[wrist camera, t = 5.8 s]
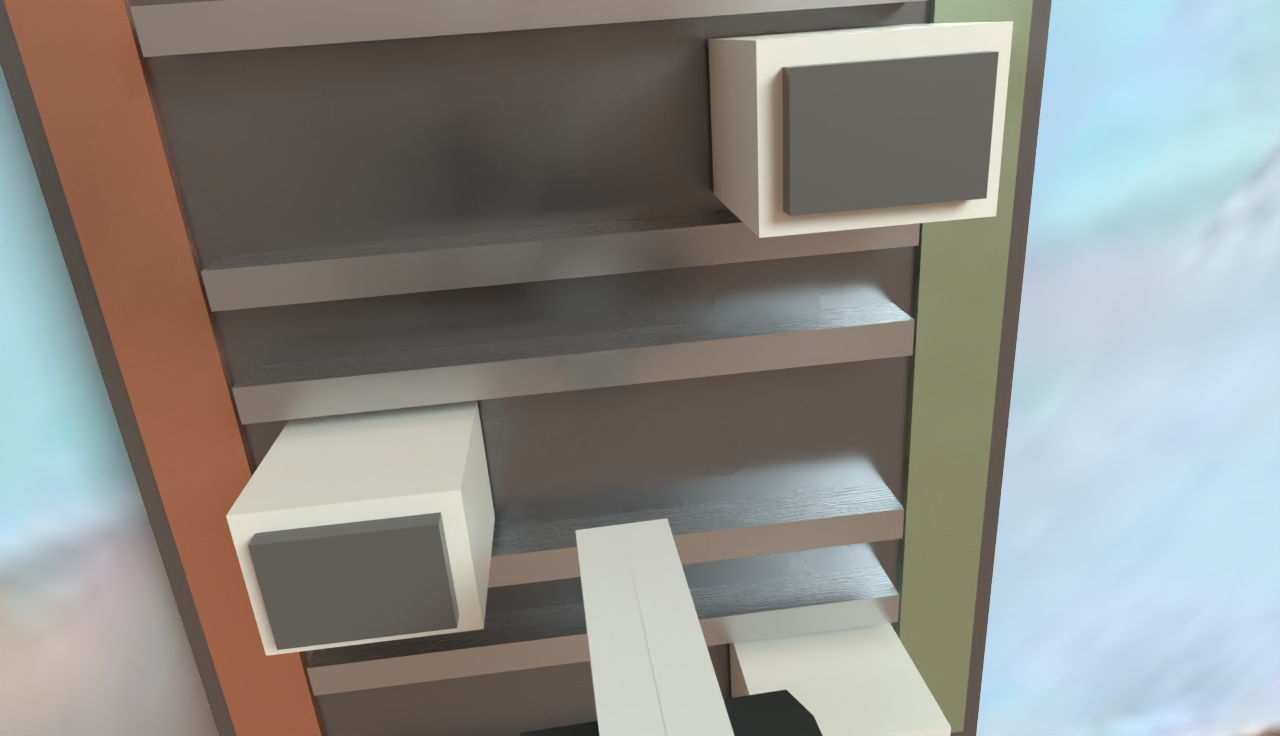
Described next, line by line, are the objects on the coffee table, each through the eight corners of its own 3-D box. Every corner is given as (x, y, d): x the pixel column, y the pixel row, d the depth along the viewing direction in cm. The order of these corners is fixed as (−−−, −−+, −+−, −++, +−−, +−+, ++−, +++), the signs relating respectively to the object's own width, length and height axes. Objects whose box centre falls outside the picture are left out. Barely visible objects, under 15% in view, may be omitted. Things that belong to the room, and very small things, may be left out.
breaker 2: (713, 195, 18) (765, 243, 13) (708, 39, 16) (762, 41, 12) (902, 178, 18) (1008, 221, 14) (909, 24, 17) (1027, 20, 13)
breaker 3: (732, 720, 23) (773, 870, 19) (729, 628, 22) (772, 767, 18) (877, 700, 23) (949, 844, 19) (882, 609, 22) (959, 740, 18)
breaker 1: (319, 537, 19) (259, 670, 15) (289, 418, 18) (217, 527, 14) (495, 517, 20) (482, 642, 16) (476, 399, 19) (458, 501, 15)
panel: (278, 789, 25) (242, 891, 22) (24, -50, 17) (-89, -69, 14) (944, 700, 26) (995, 784, 23) (1011, -113, 18) (1103, -141, 15)
